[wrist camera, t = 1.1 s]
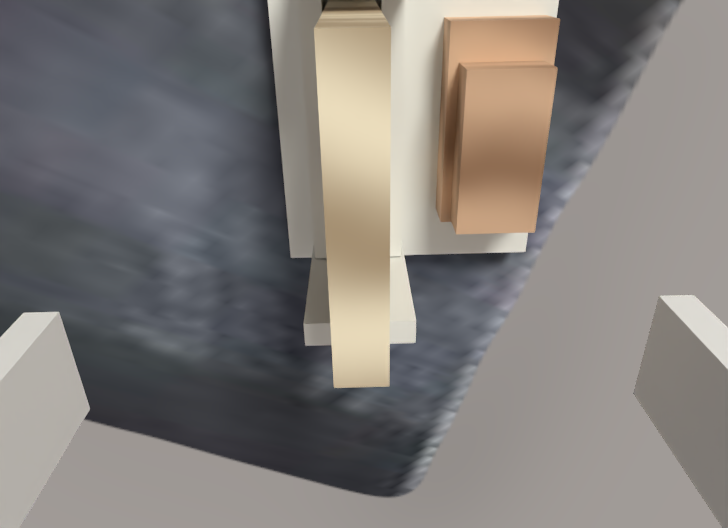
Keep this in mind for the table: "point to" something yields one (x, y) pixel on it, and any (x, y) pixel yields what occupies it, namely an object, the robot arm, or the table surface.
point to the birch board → (356, 185)
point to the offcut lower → (483, 44)
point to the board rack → (407, 150)
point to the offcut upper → (500, 145)
